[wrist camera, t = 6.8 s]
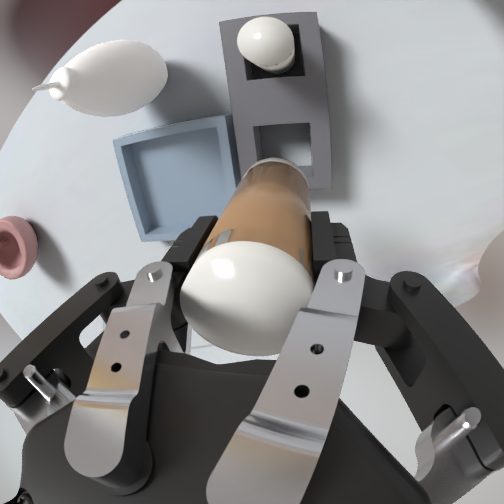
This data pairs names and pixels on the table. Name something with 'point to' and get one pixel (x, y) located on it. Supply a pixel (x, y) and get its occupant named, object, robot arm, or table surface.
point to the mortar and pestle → (16, 247)
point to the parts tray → (178, 174)
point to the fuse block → (280, 96)
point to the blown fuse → (254, 263)
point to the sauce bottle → (110, 78)
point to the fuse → (267, 44)
